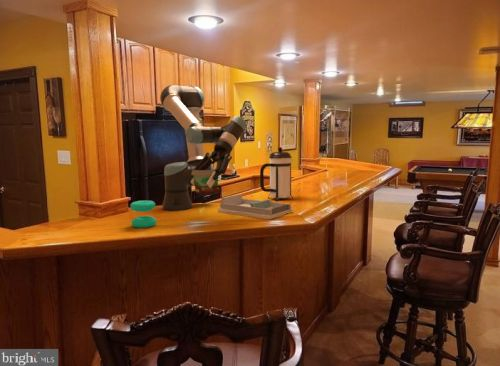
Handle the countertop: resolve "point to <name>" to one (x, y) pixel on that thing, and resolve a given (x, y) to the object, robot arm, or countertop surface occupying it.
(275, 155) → the coffee press
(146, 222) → the donuts
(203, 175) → the food container
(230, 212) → the pusher lane
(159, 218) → the countertop surface
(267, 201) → the pusher paddle
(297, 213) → the countertop surface
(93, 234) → the countertop surface
